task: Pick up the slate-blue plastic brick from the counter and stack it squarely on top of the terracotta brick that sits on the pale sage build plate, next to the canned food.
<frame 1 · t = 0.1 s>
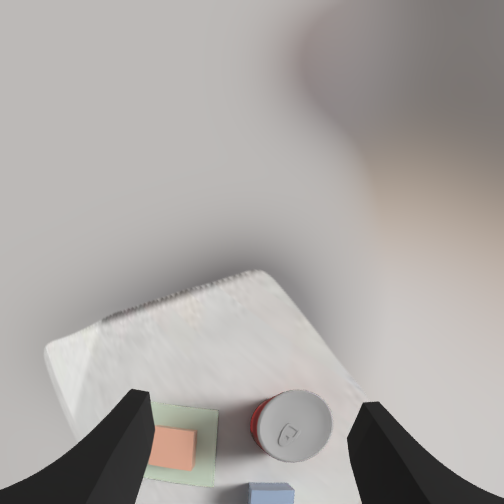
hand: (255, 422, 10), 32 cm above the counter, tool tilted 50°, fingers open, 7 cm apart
build plate: (177, 445, 35), on the counter
canned food: (279, 424, 37), on the counter
terracotta brick: (177, 445, 34), resting on build plate
blue brick: (267, 499, 32), on the counter
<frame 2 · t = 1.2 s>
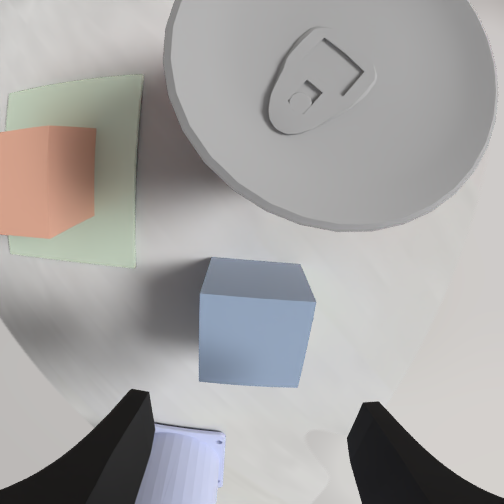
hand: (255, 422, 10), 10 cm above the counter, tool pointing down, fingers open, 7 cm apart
build plate: (62, 172, 16), on the counter
canned food: (290, 108, 15), on the counter
terracotta brick: (59, 172, 16), resting on build plate
blue brick: (252, 299, 19), on the counter
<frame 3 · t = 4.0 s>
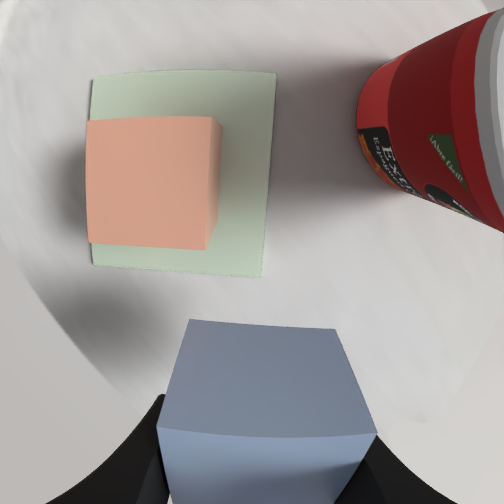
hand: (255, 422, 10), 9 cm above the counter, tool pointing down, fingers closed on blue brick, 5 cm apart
build plate: (173, 171, 16), on the counter
canned food: (411, 124, 15), on the counter
terracotta brick: (171, 172, 16), resting on build plate
blue brick: (256, 380, 11), point 7 cm above the counter, touching gripper
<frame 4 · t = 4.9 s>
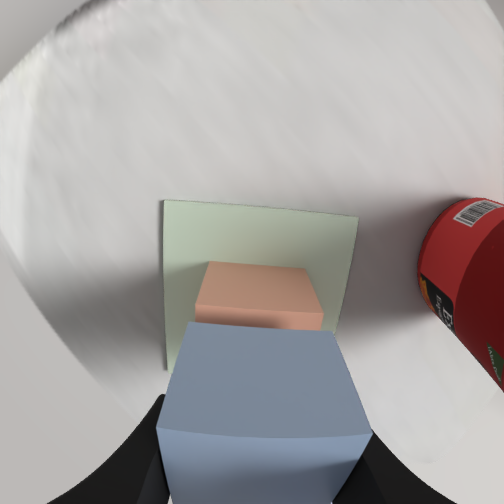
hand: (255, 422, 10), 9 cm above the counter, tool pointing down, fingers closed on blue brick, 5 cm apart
build plate: (253, 304, 18), on the counter
canned food: (461, 254, 17), on the counter
terracotta brick: (253, 307, 17), resting on build plate
blue brick: (254, 381, 11), point 7 cm above the counter, touching gripper
when the fingers open (8 cm above the counter, at t = 5.5 s): blue brick stays where it is, resting on terracotta brick.
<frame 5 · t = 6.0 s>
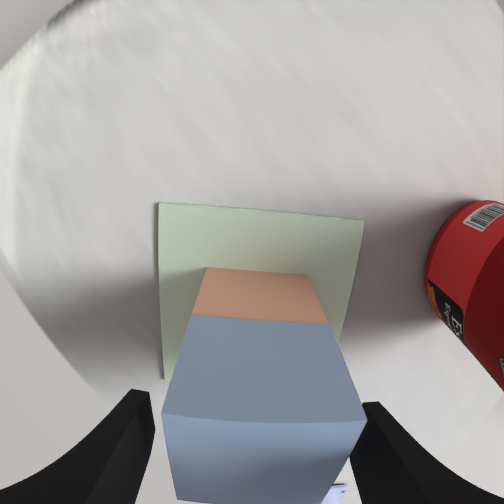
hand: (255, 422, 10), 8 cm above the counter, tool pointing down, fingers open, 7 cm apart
build plate: (253, 312, 17), on the counter
canned food: (469, 258, 16), on the counter
terracotta brick: (253, 315, 17), resting on build plate, touching blue brick
blue brick: (254, 373, 12), point 5 cm above the counter, touching terracotta brick
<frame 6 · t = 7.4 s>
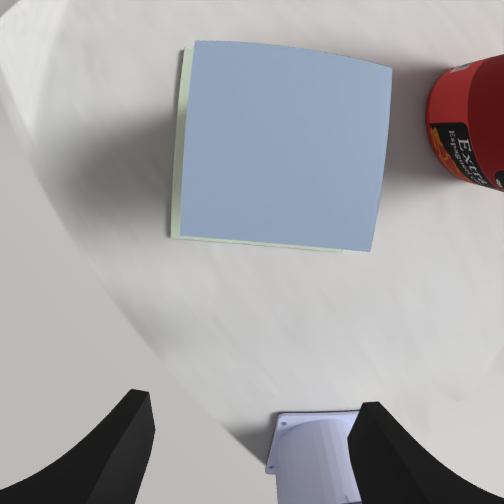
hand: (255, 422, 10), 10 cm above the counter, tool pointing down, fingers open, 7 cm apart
build plate: (266, 147, 17), on the counter
canned food: (465, 123, 16), on the counter
blue brick: (274, 145, 12), point 5 cm above the counter, touching terracotta brick
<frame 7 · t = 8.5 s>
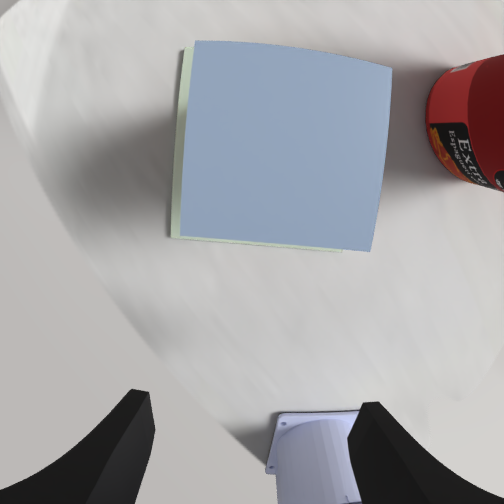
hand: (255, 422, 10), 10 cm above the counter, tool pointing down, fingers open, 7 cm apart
build plate: (266, 147, 17), on the counter
canned food: (465, 123, 16), on the counter
blue brick: (274, 145, 12), point 5 cm above the counter, touching terracotta brick
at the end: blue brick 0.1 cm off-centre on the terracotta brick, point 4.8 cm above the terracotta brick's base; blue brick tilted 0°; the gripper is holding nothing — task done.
